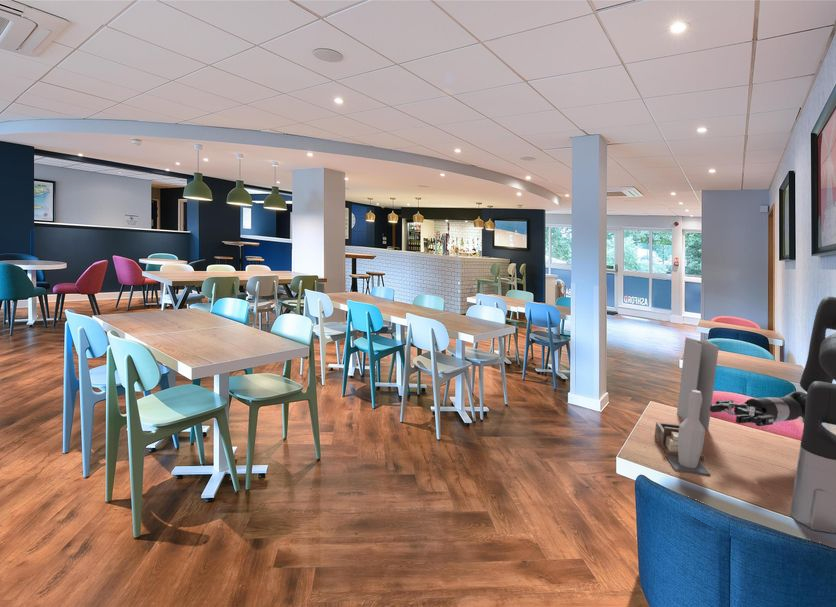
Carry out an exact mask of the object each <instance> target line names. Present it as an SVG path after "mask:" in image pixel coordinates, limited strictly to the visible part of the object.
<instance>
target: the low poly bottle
mask: <svg viewBox="0 0 836 607" xmlns="http://www.w3.org/2000/svg"><path fill="white" fill-rule="evenodd" d="M702 400H703V398H702V394H701V392H700V391H697V390H692V391H691V393H690V395H689V408H688V416H687V418H686V419H685V420H682V422H680V424H678V425H679V433H678V460H679V463H680V464H681V465H683V466H685V467H689V468H695V467H697V465H698V461H699V458H700V454H701V450H703V447H704V446H703V445H704V440H705V433H706V429H705V428H704V427H703V426H702V424H701V422H700V421H699V416H700V409H701V404H702Z"/></svg>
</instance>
